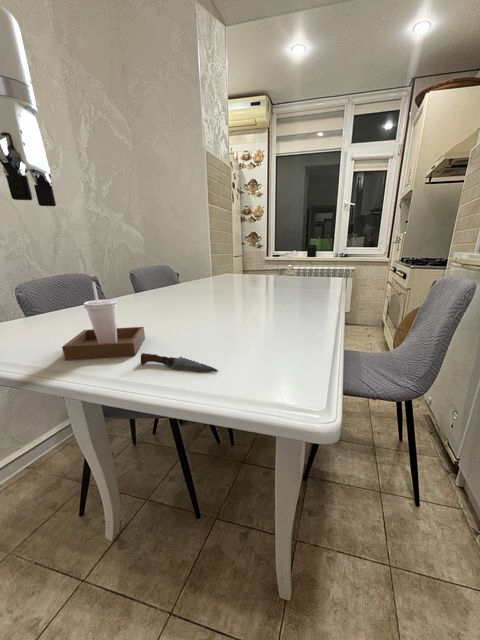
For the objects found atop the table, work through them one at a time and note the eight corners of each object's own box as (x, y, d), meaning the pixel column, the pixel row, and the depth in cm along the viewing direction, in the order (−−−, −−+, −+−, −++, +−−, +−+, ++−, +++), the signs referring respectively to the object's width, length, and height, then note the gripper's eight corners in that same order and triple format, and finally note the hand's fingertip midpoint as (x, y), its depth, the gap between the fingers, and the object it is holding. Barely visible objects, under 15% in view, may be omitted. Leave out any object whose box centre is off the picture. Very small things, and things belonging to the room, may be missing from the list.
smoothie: (94, 341, 68) (81, 280, 63) (124, 338, 70) (113, 279, 65) (90, 350, 62) (76, 284, 58) (123, 346, 65) (112, 282, 60)
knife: (134, 355, 57) (153, 341, 60) (138, 364, 58) (156, 350, 62) (202, 381, 50) (219, 364, 54) (204, 390, 52) (220, 372, 55)
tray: (65, 360, 60) (61, 346, 59) (86, 341, 71) (84, 329, 70) (135, 355, 62) (133, 342, 61) (145, 338, 74) (143, 326, 73)
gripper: (15, 116, 60) (37, 207, 66) (-51, 70, 44) (-14, 196, 50) (55, 119, 62) (73, 208, 68) (5, 76, 46) (34, 197, 52)
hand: (36, 203), depth 59 cm, fingers open, 9 cm apart
